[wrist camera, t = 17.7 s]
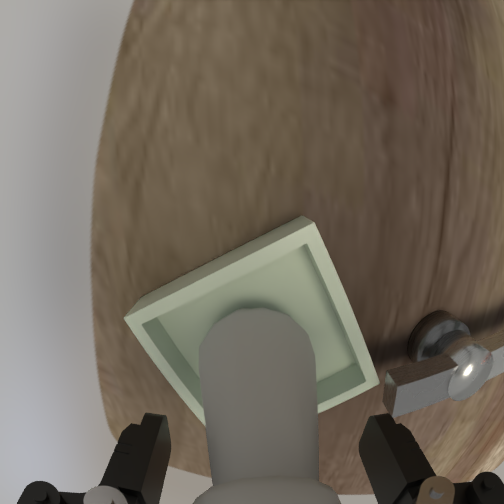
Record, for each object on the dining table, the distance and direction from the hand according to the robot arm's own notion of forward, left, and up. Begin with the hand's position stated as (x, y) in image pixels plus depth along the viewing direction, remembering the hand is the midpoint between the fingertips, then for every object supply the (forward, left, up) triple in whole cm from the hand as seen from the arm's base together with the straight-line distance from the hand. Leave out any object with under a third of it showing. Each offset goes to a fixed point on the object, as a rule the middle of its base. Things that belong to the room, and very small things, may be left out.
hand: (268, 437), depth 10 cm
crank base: (+7, +10, -8) cm, 15 cm away
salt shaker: (0, 0, -8) cm, 8 cm away
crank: (+8, +15, -6) cm, 18 cm away
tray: (0, 0, -8) cm, 8 cm away
